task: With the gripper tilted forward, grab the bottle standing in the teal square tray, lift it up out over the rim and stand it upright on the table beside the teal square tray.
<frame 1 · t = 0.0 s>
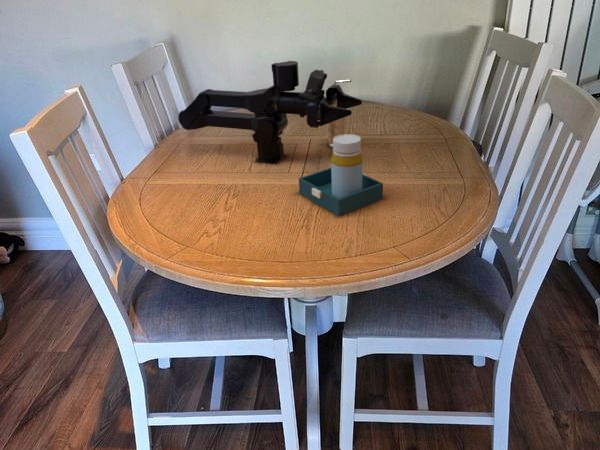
hand: (356, 107, 121), 17 cm above the table, tool horizontal, fingers open, 9 cm apart
bottle: (346, 200, 114), resting in teal square tray
teal square tray: (340, 196, 116), on the table
cup with straw: (336, 146, 145), on the table
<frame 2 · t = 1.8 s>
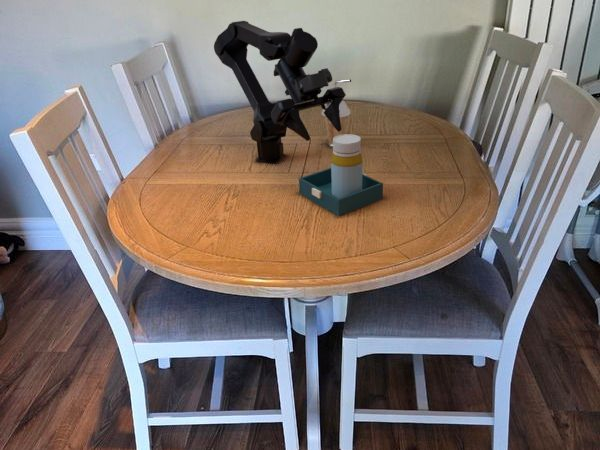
hand: (324, 135, 113), 14 cm above the table, tool tilted 45°, fingers open, 9 cm apart
nothing on the table moved.
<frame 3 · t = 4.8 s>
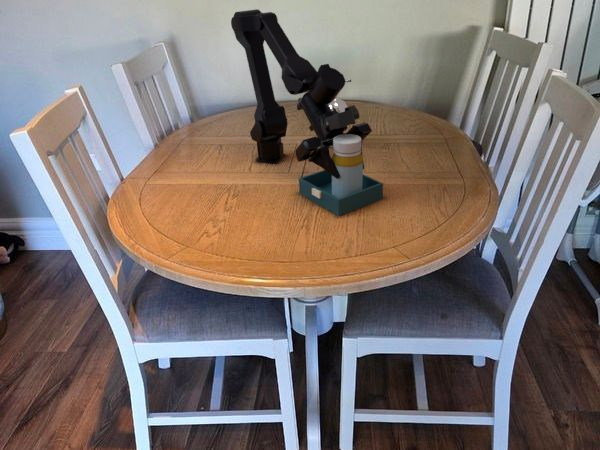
hand: (350, 173, 109), 7 cm above the table, tool tilted 45°, fingers closed on bottle, 7 cm apart
bottle: (347, 200, 114), resting in teal square tray, touching gripper
everything else where it was.
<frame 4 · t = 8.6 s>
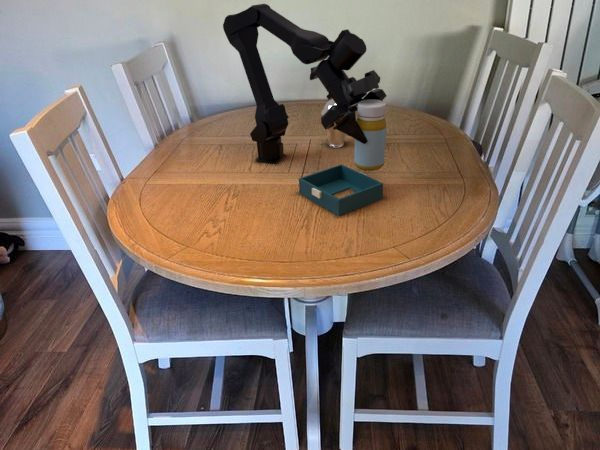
hand: (375, 138, 111), 13 cm above the table, tool tilted 45°, fingers closed on bottle, 7 cm apart
bottle: (369, 166, 115), point 6 cm above the table, touching gripper
everything else where it was.
when the fingers open (7 cm above the table, at t = 12.7 s): bottle stays where it is, on the table.
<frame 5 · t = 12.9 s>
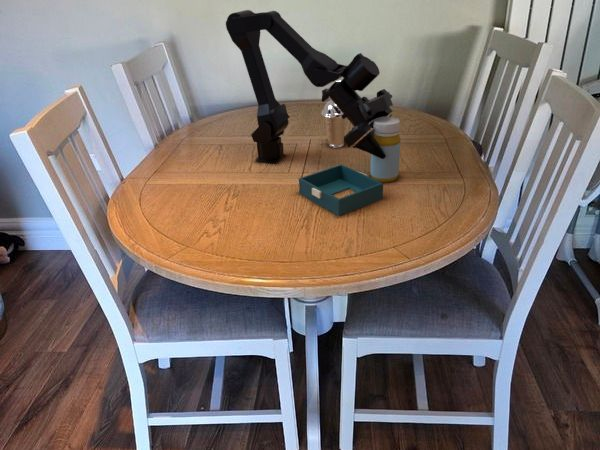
hand: (390, 151, 119), 7 cm above the table, tool tilted 45°, fingers open, 8 cm apart
bottle: (384, 178, 123), on the table, touching gripper
everything else where it was.
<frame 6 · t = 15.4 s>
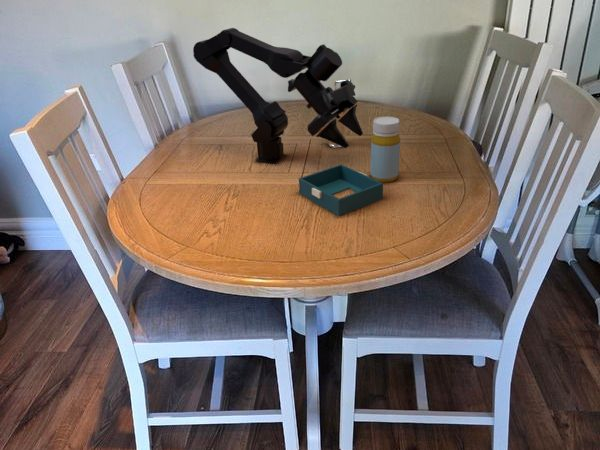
hand: (354, 140, 123), 9 cm above the table, tool tilted 45°, fingers open, 9 cm apart
bottle: (384, 178, 123), on the table
everything else where it was.
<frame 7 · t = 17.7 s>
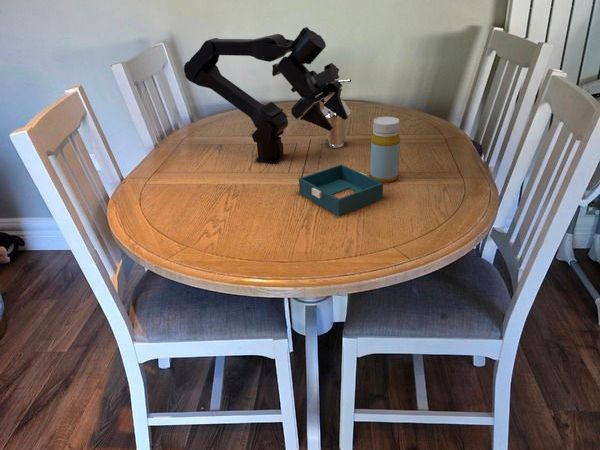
hand: (339, 124, 123), 13 cm above the table, tool tilted 45°, fingers open, 9 cm apart
nothing on the table moved.
at the end: bottle inside the target area (0.1 cm from its centre), on the table; bottle tilted 0°; the gripper is holding nothing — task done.
